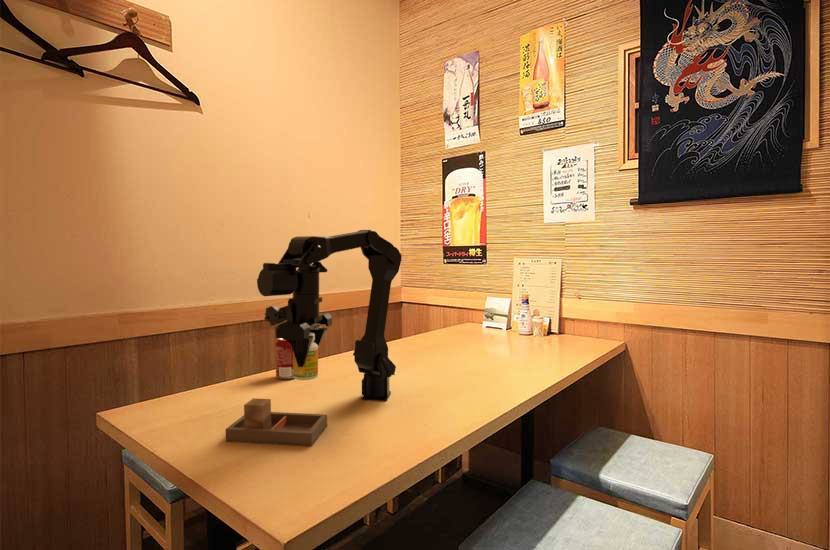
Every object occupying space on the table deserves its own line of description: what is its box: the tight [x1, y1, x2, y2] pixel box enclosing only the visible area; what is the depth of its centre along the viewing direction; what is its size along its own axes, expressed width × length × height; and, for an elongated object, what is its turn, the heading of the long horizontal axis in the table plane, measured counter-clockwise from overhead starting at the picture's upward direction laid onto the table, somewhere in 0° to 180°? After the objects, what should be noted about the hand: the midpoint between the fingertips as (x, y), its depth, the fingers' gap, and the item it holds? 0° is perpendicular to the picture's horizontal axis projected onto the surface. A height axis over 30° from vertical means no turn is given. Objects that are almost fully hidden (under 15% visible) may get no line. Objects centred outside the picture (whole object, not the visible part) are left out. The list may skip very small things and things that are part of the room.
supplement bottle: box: [293, 333, 319, 381], centre depth 100 cm, size 5×5×10 cm
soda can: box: [274, 338, 295, 381], centre depth 135 cm, size 7×7×12 cm
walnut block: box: [243, 397, 272, 429], centre depth 96 cm, size 4×4×6 cm
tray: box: [225, 411, 328, 447], centre depth 95 cm, size 18×10×3 cm, turn 83°
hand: (305, 363), depth 100 cm, fingers closed on supplement bottle, 5 cm apart
